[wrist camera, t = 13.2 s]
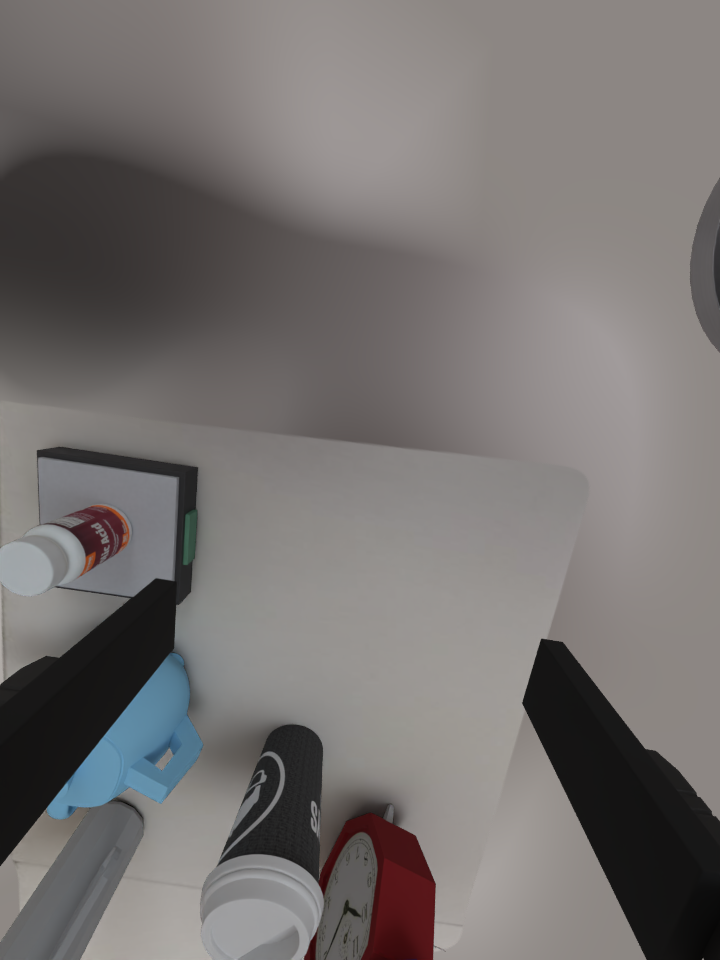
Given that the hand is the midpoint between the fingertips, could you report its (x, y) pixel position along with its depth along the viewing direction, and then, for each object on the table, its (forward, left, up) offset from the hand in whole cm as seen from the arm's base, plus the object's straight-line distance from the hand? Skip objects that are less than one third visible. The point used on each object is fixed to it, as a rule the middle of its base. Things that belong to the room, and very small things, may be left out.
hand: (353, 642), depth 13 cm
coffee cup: (+31, -3, -23) cm, 38 cm away
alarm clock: (+42, +8, -23) cm, 48 cm away
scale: (+7, -22, -22) cm, 32 cm away
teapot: (+24, -21, -23) cm, 39 cm away
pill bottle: (+6, -22, -20) cm, 30 cm away
